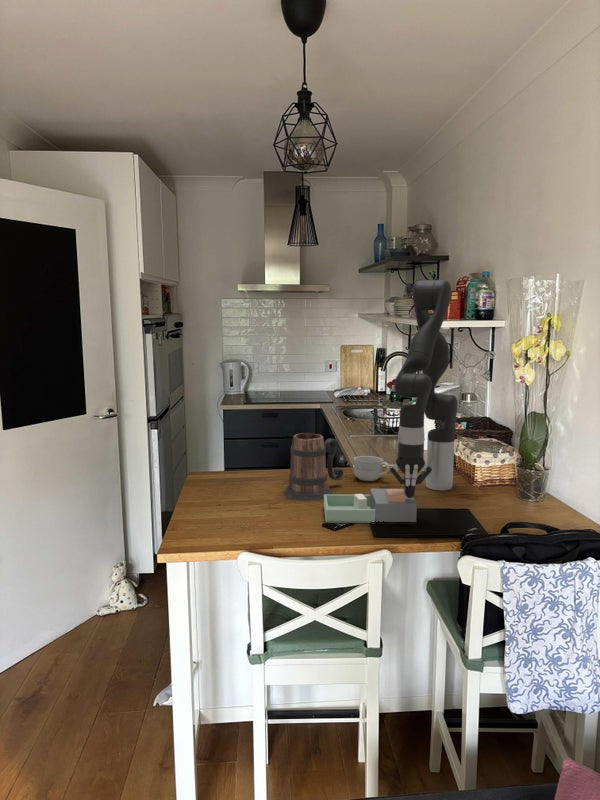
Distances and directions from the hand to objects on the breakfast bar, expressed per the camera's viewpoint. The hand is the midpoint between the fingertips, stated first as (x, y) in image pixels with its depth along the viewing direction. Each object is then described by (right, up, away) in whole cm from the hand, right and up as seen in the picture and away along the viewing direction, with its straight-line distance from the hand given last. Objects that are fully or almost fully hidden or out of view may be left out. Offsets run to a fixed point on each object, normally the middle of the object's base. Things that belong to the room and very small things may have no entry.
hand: (409, 497), depth 172 cm
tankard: (-27, -3, +27) cm, 38 cm away
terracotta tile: (-4, -1, 0) cm, 4 cm away
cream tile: (-13, -3, +5) cm, 14 cm away
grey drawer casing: (-4, -6, +5) cm, 9 cm away
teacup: (-6, -1, +40) cm, 40 cm away
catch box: (-18, -6, +5) cm, 19 cm away
